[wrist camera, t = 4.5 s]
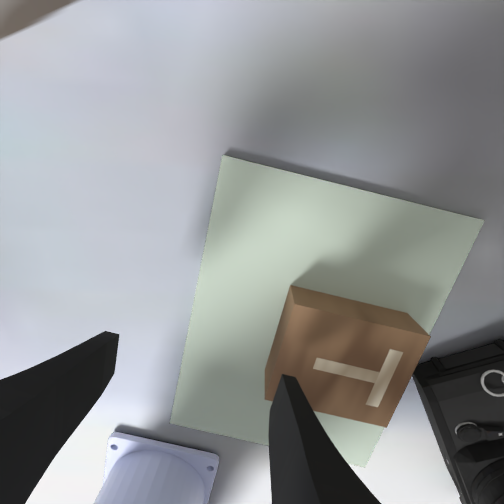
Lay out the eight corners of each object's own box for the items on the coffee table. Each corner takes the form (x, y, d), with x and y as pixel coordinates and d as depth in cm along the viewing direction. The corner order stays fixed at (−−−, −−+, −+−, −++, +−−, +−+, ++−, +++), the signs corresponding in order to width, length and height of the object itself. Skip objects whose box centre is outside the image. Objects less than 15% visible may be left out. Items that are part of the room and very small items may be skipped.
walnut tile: (264, 369, 18) (370, 394, 18) (264, 399, 15) (386, 427, 16) (290, 284, 16) (407, 312, 16) (294, 304, 14) (430, 336, 14)
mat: (363, 461, 20) (365, 467, 20) (171, 418, 20) (169, 423, 19) (479, 219, 15) (484, 220, 15) (223, 155, 15) (222, 154, 14)
